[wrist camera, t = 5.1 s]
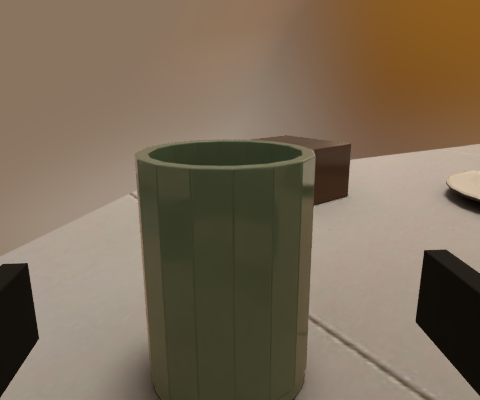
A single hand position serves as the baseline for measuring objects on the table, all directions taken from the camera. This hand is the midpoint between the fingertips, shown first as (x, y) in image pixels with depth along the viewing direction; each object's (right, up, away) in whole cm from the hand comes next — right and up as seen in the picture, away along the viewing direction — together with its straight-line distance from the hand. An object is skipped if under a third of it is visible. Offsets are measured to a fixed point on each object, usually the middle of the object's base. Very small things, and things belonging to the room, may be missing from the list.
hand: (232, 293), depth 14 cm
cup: (0, -5, +5) cm, 7 cm away
